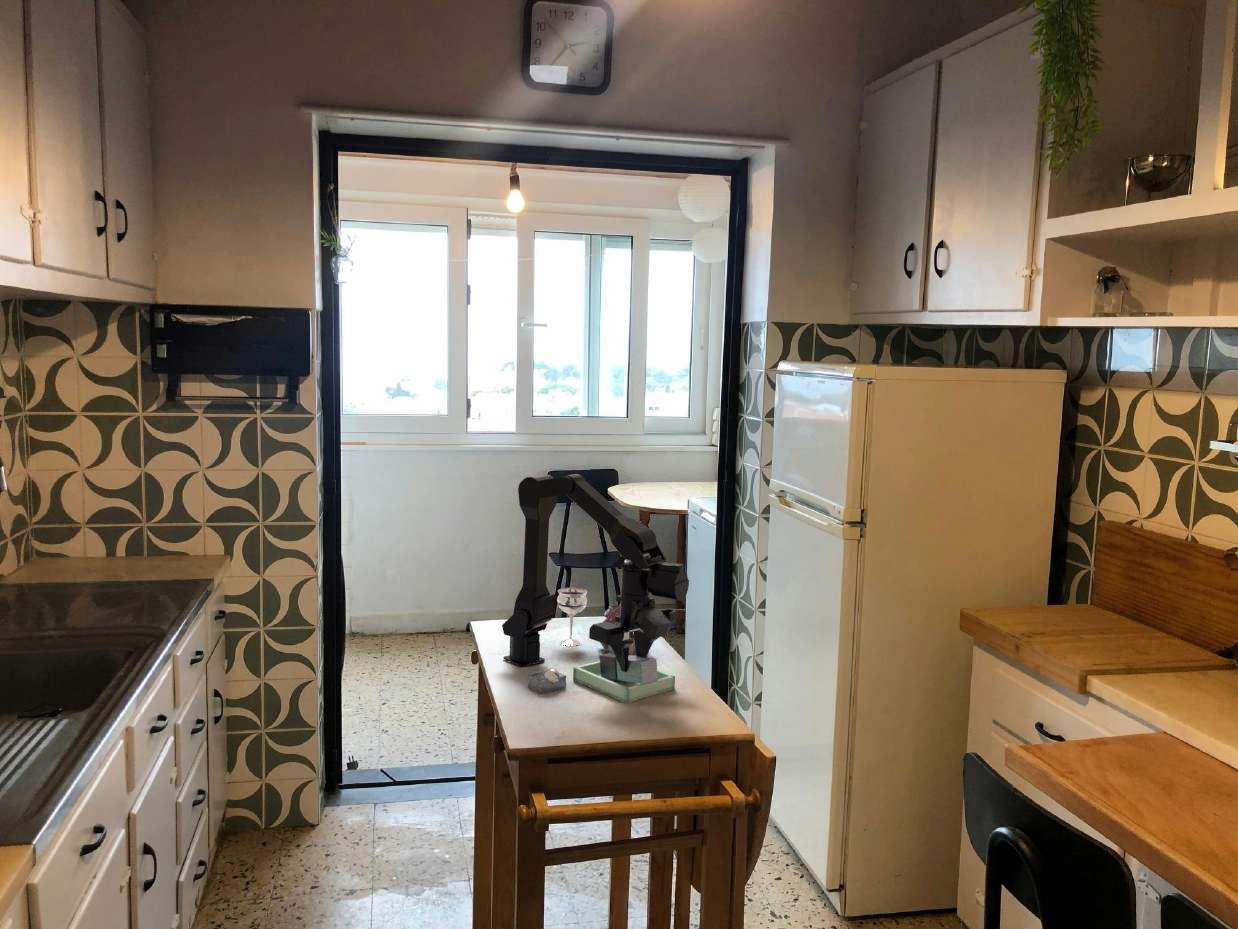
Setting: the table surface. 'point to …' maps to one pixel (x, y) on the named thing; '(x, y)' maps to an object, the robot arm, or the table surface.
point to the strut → (629, 669)
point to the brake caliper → (611, 619)
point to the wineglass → (571, 607)
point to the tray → (622, 683)
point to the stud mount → (546, 681)
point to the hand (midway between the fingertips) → (632, 669)
